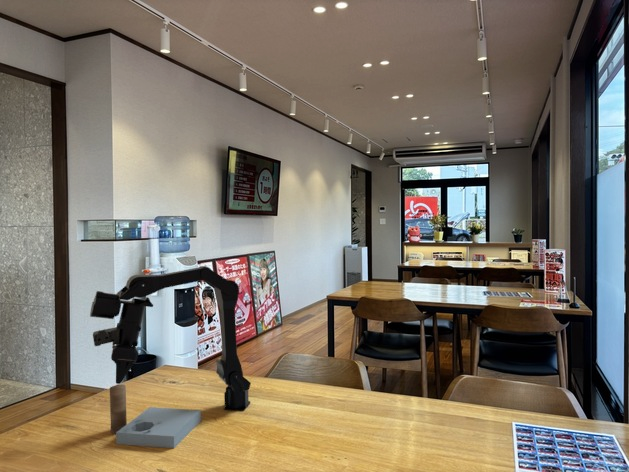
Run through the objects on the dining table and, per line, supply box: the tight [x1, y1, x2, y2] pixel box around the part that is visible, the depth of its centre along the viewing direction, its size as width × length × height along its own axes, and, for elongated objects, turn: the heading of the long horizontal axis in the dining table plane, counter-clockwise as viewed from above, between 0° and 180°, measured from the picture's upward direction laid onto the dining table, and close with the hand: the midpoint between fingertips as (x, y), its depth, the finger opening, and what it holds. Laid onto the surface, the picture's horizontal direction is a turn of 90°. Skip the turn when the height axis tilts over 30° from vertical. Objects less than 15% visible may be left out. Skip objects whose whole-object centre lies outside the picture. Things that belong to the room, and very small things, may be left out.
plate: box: [115, 406, 202, 449], centre depth 119 cm, size 16×16×3 cm
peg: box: [109, 384, 128, 435], centre depth 120 cm, size 4×4×12 cm
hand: (118, 378), depth 119 cm, fingers open, 9 cm apart
